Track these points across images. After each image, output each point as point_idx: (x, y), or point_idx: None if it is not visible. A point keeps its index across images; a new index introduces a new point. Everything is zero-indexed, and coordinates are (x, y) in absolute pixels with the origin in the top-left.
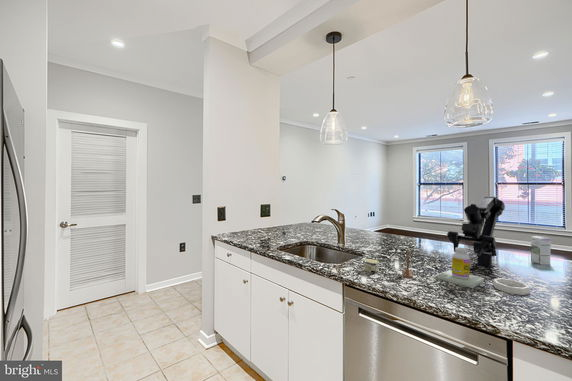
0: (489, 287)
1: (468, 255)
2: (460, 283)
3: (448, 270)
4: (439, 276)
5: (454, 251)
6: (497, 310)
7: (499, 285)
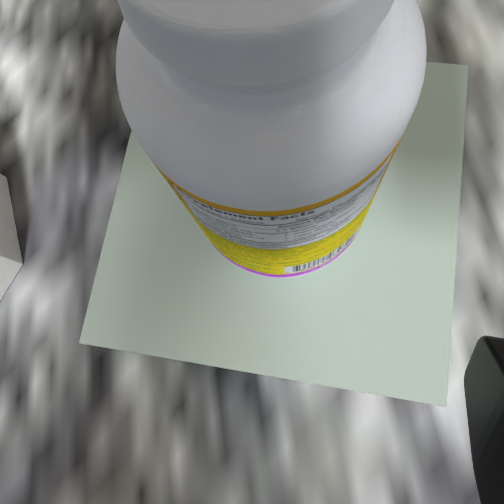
0: (53, 173)
1: (128, 49)
2: None
3: (446, 361)
4: (444, 63)
5: (487, 342)
6: None
7: None
